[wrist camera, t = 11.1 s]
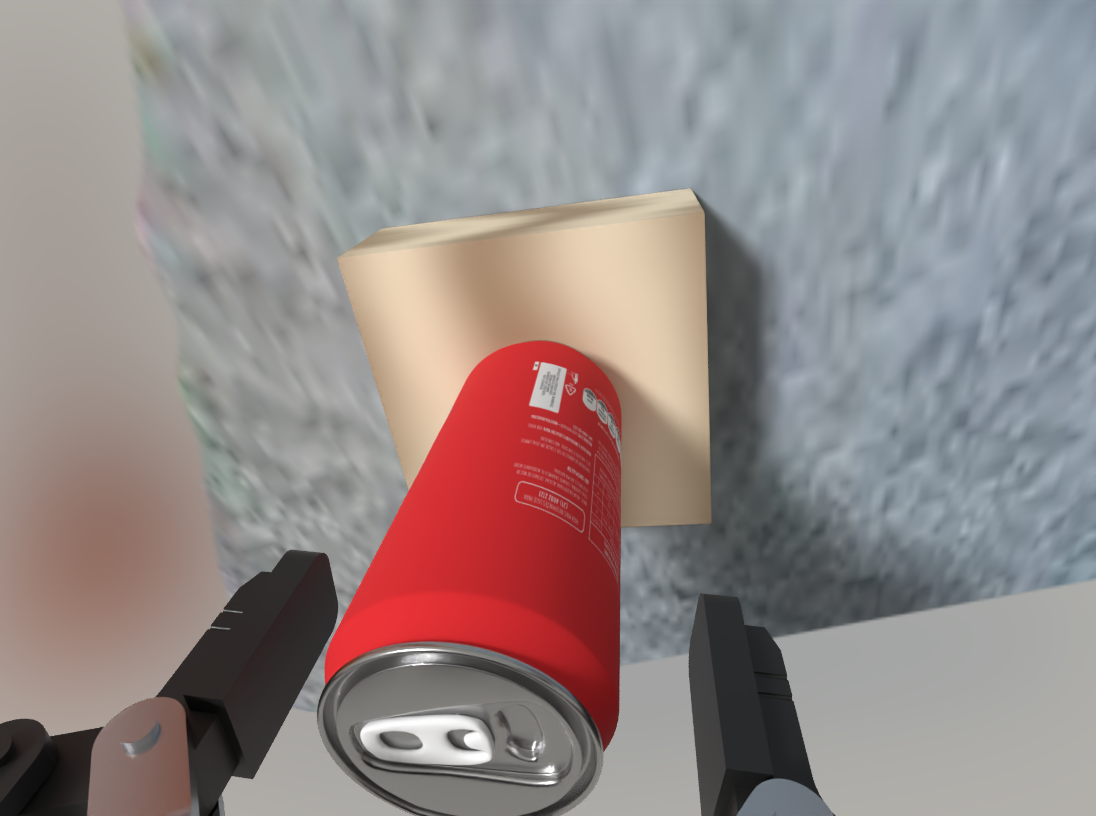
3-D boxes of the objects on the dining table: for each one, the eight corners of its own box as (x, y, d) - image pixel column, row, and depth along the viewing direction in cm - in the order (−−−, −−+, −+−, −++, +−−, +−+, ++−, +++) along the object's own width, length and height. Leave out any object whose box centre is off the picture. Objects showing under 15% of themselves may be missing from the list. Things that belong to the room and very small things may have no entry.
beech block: (690, 188, 20) (704, 212, 17) (699, 461, 25) (711, 523, 22) (382, 228, 22) (337, 257, 19) (448, 476, 27) (422, 535, 24)
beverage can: (631, 458, 21) (636, 840, 10) (487, 471, 22) (361, 834, 11) (610, 317, 19) (591, 630, 8) (450, 339, 20) (250, 644, 9)
